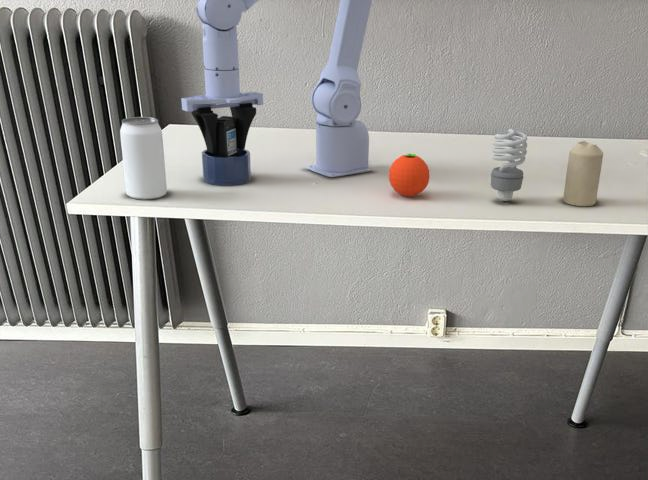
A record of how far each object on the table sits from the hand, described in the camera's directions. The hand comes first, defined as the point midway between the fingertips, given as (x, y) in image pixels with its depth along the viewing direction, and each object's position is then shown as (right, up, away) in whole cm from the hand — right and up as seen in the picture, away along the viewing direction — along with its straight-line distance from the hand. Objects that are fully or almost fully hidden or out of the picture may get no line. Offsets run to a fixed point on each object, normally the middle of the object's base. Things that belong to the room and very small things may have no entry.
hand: (225, 150), depth 145 cm
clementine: (+32, -9, -3) cm, 33 cm away
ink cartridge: (0, -2, +1) cm, 3 cm away
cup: (0, -5, +2) cm, 5 cm away
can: (-11, -10, -8) cm, 17 cm away
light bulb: (+48, -10, -5) cm, 49 cm away
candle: (+61, -10, -3) cm, 62 cm away
